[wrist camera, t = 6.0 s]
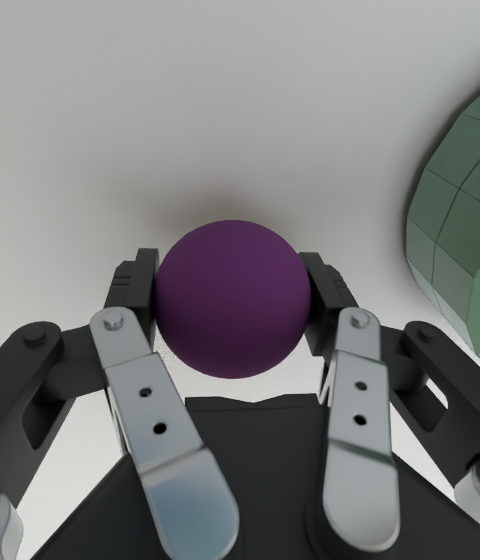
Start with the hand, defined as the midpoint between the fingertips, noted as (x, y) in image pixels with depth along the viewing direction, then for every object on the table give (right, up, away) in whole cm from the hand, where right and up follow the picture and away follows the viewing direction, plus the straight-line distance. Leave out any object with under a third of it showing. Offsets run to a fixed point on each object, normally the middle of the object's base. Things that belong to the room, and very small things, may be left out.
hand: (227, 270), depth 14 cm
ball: (0, -1, -1) cm, 2 cm away
